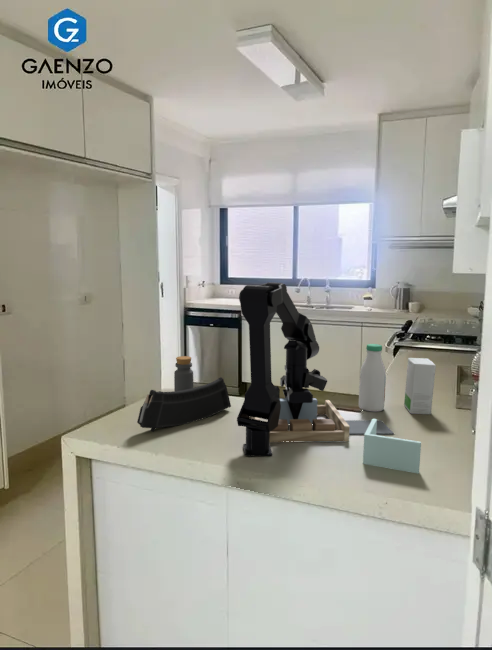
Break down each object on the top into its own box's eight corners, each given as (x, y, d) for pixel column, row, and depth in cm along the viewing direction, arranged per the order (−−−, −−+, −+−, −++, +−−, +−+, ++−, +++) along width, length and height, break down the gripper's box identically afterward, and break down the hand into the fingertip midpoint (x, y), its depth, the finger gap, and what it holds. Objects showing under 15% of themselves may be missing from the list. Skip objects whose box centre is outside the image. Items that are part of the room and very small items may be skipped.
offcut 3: (334, 439, 124) (335, 424, 123) (315, 439, 124) (315, 424, 123) (330, 433, 128) (331, 418, 127) (312, 433, 128) (312, 419, 127)
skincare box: (403, 405, 152) (406, 357, 150) (425, 406, 152) (428, 357, 150) (410, 414, 144) (413, 363, 142) (433, 414, 144) (436, 363, 141)
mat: (393, 434, 127) (393, 432, 127) (345, 434, 127) (345, 433, 126) (381, 421, 137) (381, 420, 137) (336, 421, 136) (336, 420, 136)
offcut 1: (287, 439, 123) (288, 424, 122) (268, 439, 123) (268, 424, 122) (286, 434, 127) (286, 419, 126) (267, 433, 127) (267, 419, 126)
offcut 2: (311, 439, 124) (312, 424, 123) (292, 439, 123) (292, 424, 123) (307, 433, 128) (308, 418, 127) (289, 434, 127) (289, 419, 126)
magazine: (230, 378, 148) (149, 364, 127) (237, 380, 146) (156, 366, 125) (217, 433, 147) (134, 428, 126) (224, 436, 144) (141, 432, 123)
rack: (348, 441, 122) (349, 426, 121) (256, 442, 121) (257, 427, 120) (328, 413, 144) (329, 400, 144) (250, 413, 143) (250, 400, 142)
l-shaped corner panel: (418, 476, 104) (420, 443, 103) (362, 466, 109) (364, 434, 108) (422, 455, 115) (424, 425, 114) (371, 447, 120) (372, 418, 119)
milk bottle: (383, 413, 144) (386, 348, 141) (356, 410, 147) (359, 346, 144) (385, 406, 151) (388, 343, 149) (360, 403, 154) (363, 341, 151)
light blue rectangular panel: (316, 425, 134) (317, 400, 133) (273, 425, 133) (274, 401, 132) (314, 422, 136) (315, 398, 135) (272, 422, 136) (273, 398, 135)
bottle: (188, 408, 147) (188, 360, 145) (171, 406, 149) (170, 358, 147) (196, 402, 152) (196, 356, 150) (179, 401, 154) (179, 355, 152)
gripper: (333, 371, 124) (331, 429, 126) (318, 356, 142) (316, 407, 144) (290, 371, 123) (288, 430, 125) (280, 356, 141) (279, 407, 144)
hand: (294, 418), depth 135 cm, fingers closed on light blue rectangular panel, 2 cm apart
